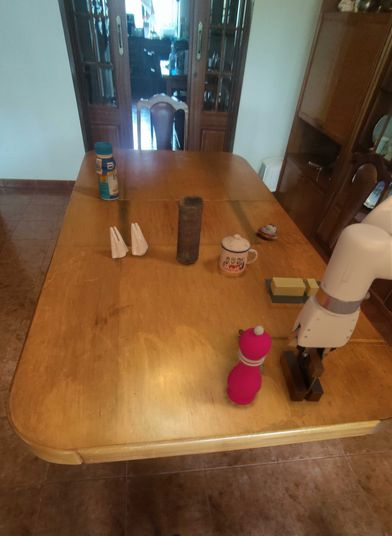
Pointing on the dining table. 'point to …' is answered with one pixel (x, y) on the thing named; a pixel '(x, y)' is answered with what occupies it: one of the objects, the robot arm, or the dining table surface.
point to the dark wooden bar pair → (298, 380)
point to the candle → (189, 228)
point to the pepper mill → (248, 366)
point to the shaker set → (119, 246)
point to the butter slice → (311, 287)
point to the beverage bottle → (106, 171)
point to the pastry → (268, 232)
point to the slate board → (285, 298)
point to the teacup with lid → (235, 254)
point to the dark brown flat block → (312, 369)
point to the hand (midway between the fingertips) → (307, 363)
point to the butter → (287, 286)
